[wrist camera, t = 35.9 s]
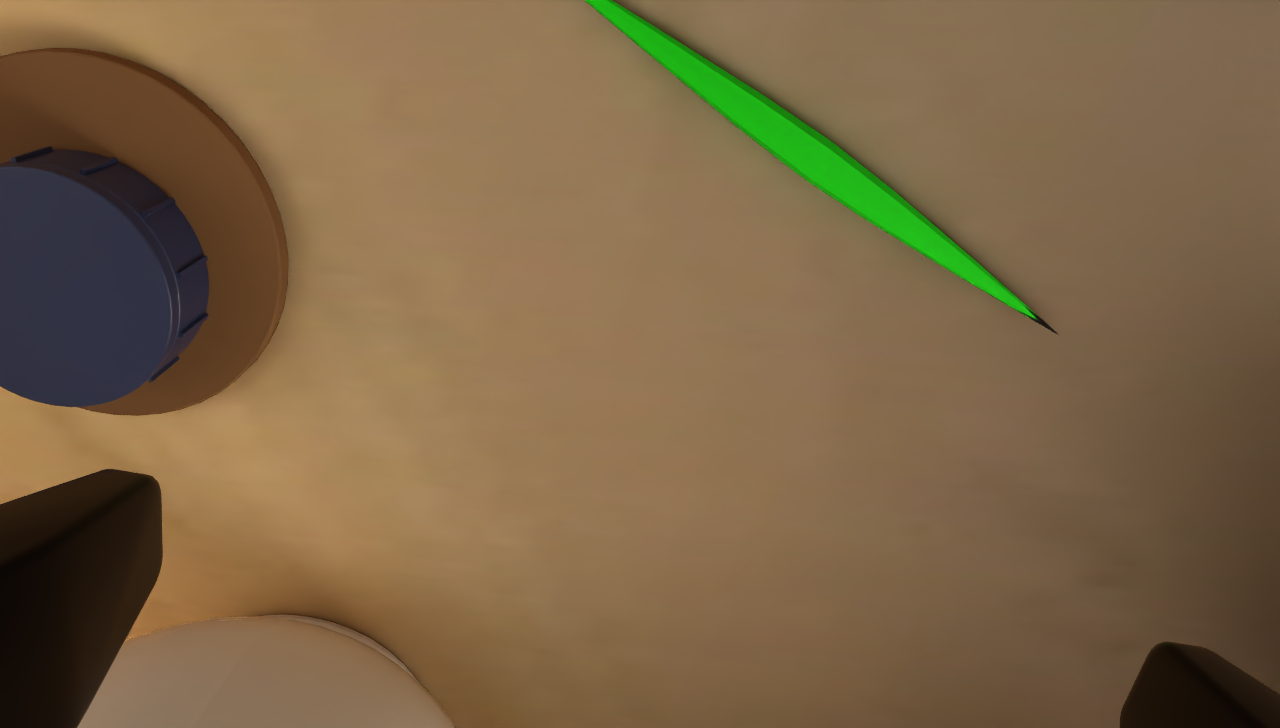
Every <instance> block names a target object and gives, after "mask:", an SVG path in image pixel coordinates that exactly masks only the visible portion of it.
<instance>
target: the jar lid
mask: <svg viewBox="0 0 1280 728" xmlns="http://www.w3.org/2000/svg"><path fill="white" fill-rule="evenodd" d="M10 159H11V161H8V162H4V163H1V164H0V386H1V387H2V388H4V389H6V390H8V391H10V392H12V393H15V394H17V395H19V396H22V397H24V398H27V399H30V400H34V401H37V402H41V403H45V404H50V405H55V406H65V407H87V406H94V405H100V404H104V403H108V402H111V401H115V400H117V399H119V398H121V397H124V396H126V395H128V394H130V393H131V392H133V391H134V390H136V389H137V388H139V387H140V386H141V385H143V384H144V383H145V382H146V381H147V380H148V381H149V382H150V383H151V382H153V381H154V380H155V379H156V378H158V377H159V376H160V375H161V374H162V373H164V372H165V371H166V370H167V369H168V368H170V367H171V366H172V365H173V364H174V363H176V362H177V361H178V360H179V359H180V358H179V357H178V355H179V354H180V353H181V352H182V351H184V350H185V349H186V348H187V347H188V345H189V344H190V343H191V342H192V340H193V339H194V338H195V336H196V334H197V333H198V331H199V329H200V327H201V325H202V322H203V321H205V320H206V319H207V318H208V315H209V314H207V313H206V310H207V305H208V298H209V278H208V269H207V265H206V261H207V260H208V258H207V255H204V253H203V250H202V247H201V245H200V242H199V240H198V238H197V236H196V234H195V232H194V230H193V228H192V226H191V225H190V223H189V222H188V220H187V218H186V217H185V215H184V214H183V213H182V211H181V210H180V209H179V208H178V206H177V205H176V204H175V203H174V202H175V199H174V198H173V197H171V198H170V197H169V196H168V195H167V194H166V193H165V192H164V191H163V190H162V189H161V188H159V187H158V186H157V185H155V184H154V183H153V182H152V181H150V180H149V179H148V178H147V177H145V176H143V175H142V174H140V173H139V172H137V171H136V170H134V169H132V168H130V167H128V166H126V165H124V164H122V163H120V162H118V158H116V157H111V158H108V157H105V156H102V155H99V154H94V153H90V152H86V151H78V150H69V149H63V150H53V149H52V146H47V147H44V148H41V149H37V150H34V151H31V152H28V153H24V154H21V155H18V156H15V157H11V158H10Z"/></svg>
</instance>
